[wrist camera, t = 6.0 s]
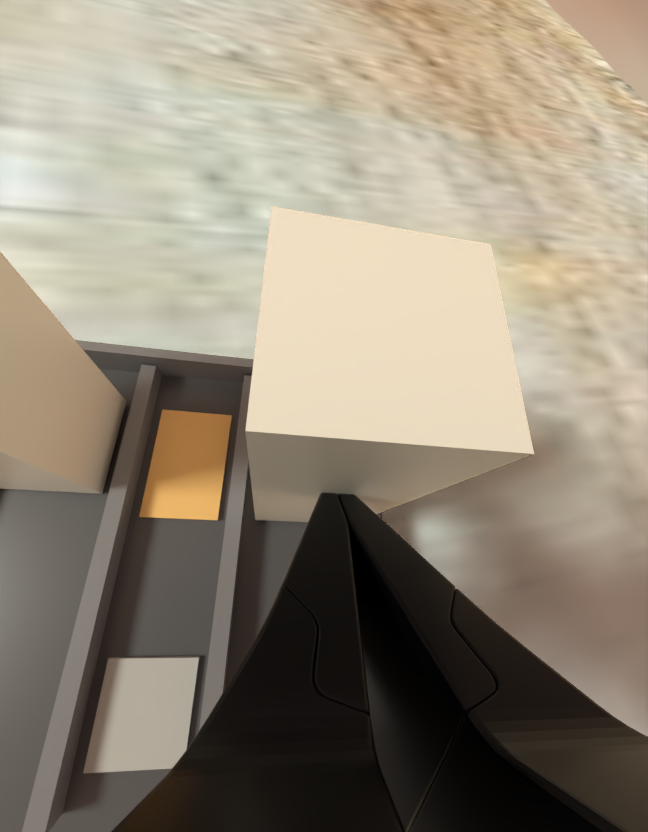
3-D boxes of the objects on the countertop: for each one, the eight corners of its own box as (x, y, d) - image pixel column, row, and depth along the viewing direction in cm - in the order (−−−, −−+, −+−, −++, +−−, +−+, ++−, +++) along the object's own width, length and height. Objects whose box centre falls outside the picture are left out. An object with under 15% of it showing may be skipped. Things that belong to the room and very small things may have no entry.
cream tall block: (350, 523, 15) (533, 454, 5) (255, 519, 14) (245, 431, 4) (350, 435, 17) (490, 244, 6) (264, 428, 16) (271, 206, 6)
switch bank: (385, 951, 12) (420, 1062, 9) (-247, 1037, 9) (-446, 1226, 7) (370, 398, 19) (387, 374, 17) (23, 365, 17) (-19, 330, 14)
